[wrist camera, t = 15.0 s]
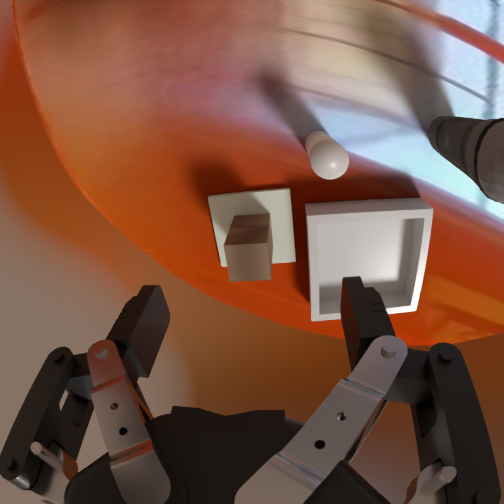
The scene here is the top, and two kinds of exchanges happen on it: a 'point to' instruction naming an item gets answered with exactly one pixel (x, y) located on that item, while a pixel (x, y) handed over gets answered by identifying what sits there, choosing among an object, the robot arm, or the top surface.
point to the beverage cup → (473, 150)
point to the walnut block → (249, 248)
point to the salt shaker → (326, 155)
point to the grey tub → (367, 251)
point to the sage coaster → (256, 203)
